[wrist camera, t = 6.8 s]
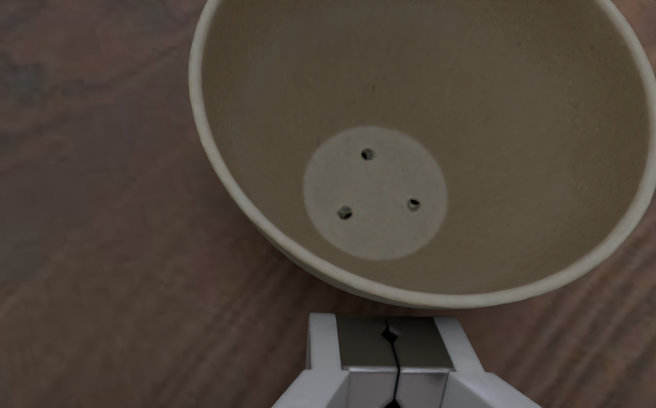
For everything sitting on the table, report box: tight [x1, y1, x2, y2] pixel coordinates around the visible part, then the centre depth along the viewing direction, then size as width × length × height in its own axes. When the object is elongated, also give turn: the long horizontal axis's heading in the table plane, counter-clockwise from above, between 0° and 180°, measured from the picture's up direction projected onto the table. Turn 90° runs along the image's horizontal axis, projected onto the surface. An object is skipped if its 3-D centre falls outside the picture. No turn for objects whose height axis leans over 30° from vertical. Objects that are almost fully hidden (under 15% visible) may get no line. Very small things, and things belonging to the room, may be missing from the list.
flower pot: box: [189, 0, 656, 310], centre depth 13 cm, size 10×10×7 cm
